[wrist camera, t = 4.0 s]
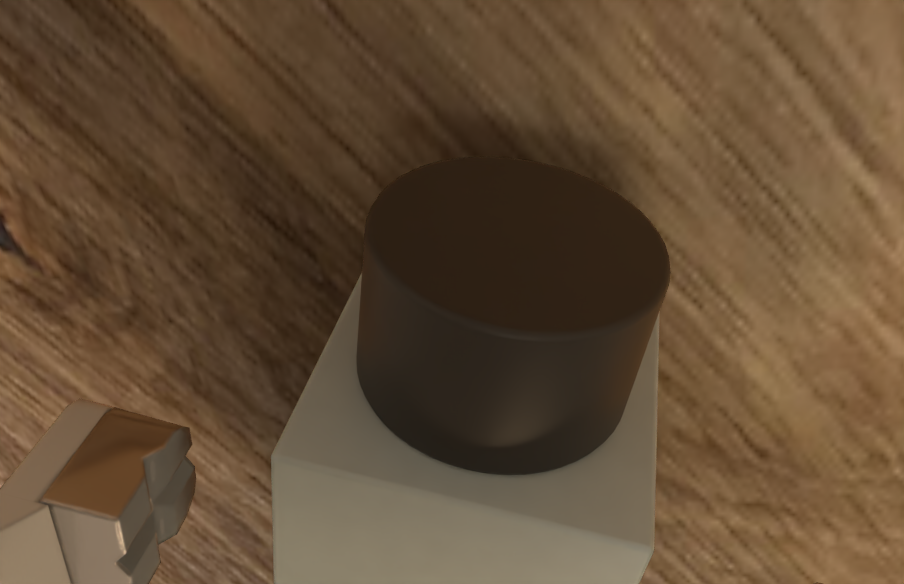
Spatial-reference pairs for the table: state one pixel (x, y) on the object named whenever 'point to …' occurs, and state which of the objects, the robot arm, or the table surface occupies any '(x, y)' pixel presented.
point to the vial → (482, 390)
